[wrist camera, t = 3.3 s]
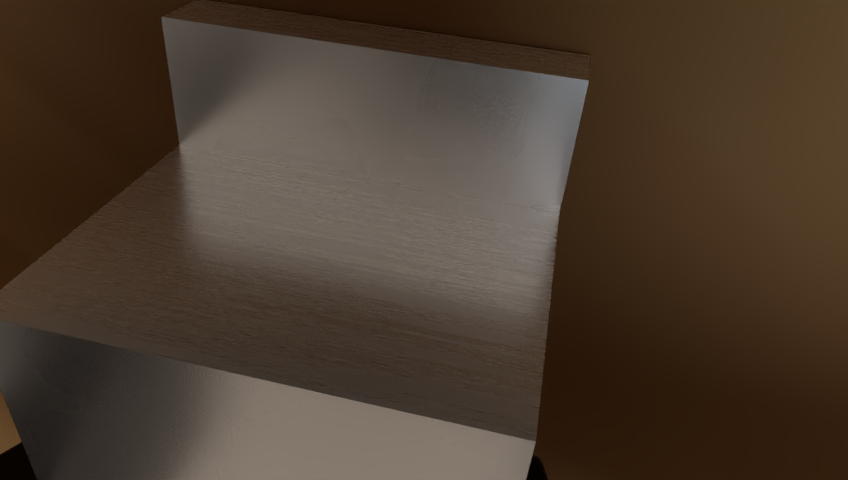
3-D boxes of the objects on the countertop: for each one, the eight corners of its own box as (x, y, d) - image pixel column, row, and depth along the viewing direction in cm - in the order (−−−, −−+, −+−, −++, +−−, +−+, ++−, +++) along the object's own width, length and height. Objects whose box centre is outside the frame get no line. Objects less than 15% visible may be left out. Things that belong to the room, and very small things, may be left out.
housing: (477, 570, 13) (433, 835, 9) (255, 513, 13) (142, 743, 10) (589, 54, 7) (581, 269, 4) (198, -2, 8) (-98, 142, 4)
